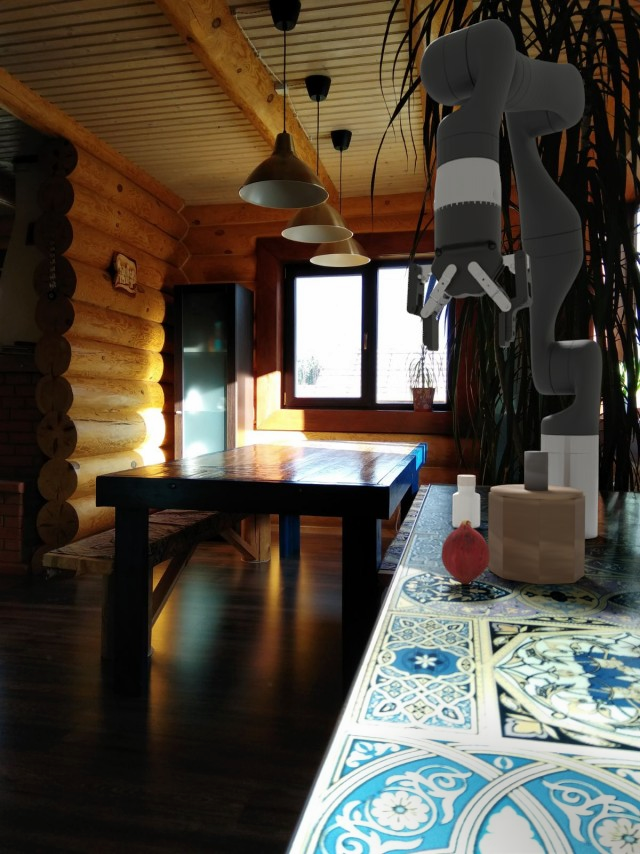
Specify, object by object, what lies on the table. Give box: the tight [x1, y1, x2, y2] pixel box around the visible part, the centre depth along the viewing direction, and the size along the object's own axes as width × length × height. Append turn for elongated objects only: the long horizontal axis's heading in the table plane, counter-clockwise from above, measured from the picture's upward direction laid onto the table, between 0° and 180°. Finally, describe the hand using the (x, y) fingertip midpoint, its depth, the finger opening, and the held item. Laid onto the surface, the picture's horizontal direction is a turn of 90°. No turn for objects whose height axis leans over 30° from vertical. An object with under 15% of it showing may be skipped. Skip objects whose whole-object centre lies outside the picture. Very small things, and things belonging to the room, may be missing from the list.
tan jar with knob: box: [487, 450, 586, 585], centre depth 86 cm, size 12×12×16 cm
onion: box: [441, 519, 490, 585], centre depth 80 cm, size 6×6×8 cm
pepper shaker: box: [451, 474, 481, 529], centre depth 118 cm, size 4×4×10 cm
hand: (467, 348), depth 75 cm, fingers open, 8 cm apart
